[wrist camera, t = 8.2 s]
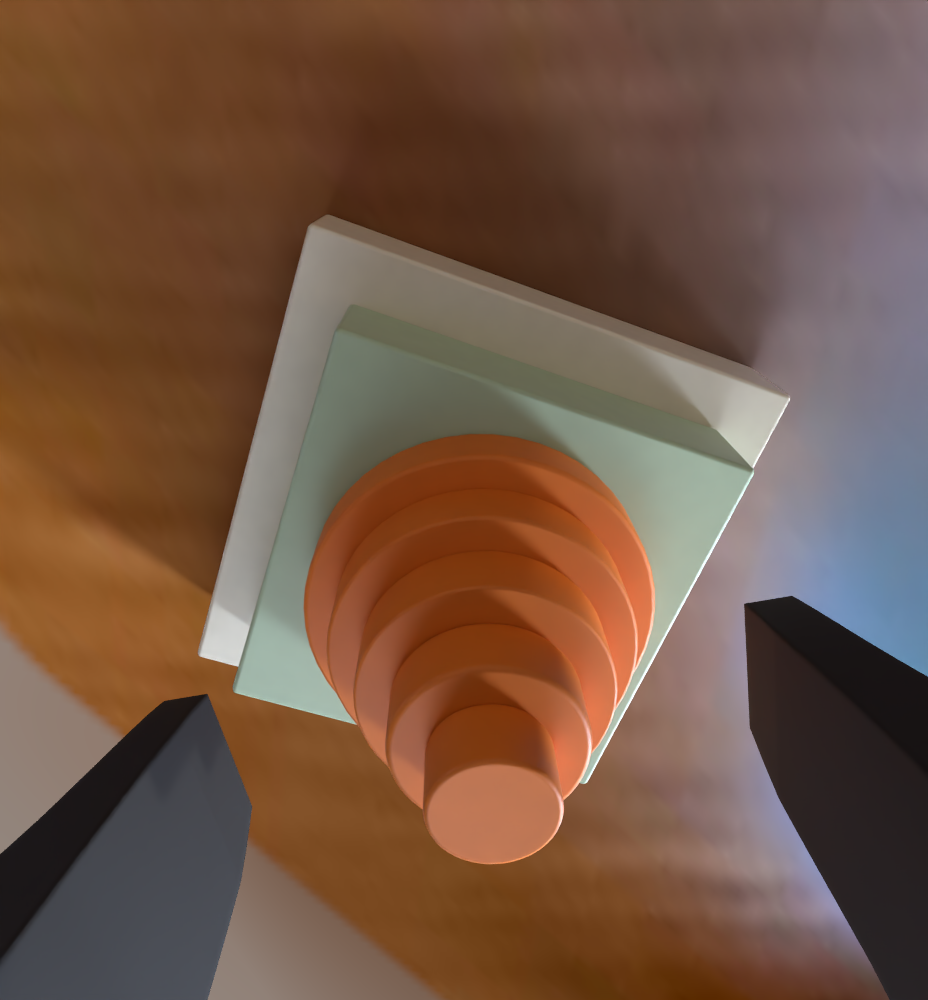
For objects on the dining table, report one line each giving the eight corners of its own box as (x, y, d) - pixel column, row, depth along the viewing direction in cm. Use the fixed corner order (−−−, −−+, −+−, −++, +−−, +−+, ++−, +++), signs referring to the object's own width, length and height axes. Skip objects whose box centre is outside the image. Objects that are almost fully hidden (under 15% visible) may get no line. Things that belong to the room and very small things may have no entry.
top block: (255, 631, 16) (230, 693, 14) (350, 301, 13) (335, 326, 12) (571, 718, 17) (586, 786, 15) (719, 429, 14) (757, 470, 13)
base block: (221, 605, 18) (196, 656, 16) (325, 212, 15) (308, 222, 13) (581, 705, 20) (595, 763, 18) (754, 368, 16) (793, 396, 14)
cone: (277, 672, 14) (196, 925, 10) (366, 384, 12) (317, 534, 7) (567, 749, 15) (619, 1016, 10) (698, 494, 13) (837, 688, 8)
